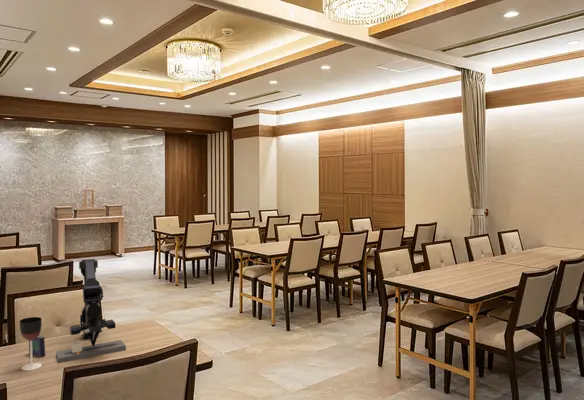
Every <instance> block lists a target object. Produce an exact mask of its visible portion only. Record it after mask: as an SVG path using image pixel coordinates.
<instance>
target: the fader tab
mask: <svg viewBox="0 0 584 400" xmlns="http://www.w3.org/2000/svg"><path fill="white" fill-rule="evenodd" d="M82 347H83V342H82V341H81V340H77V341H71V342H70V349H71V351H72V353H75V352H81V351H82Z"/></svg>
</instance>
